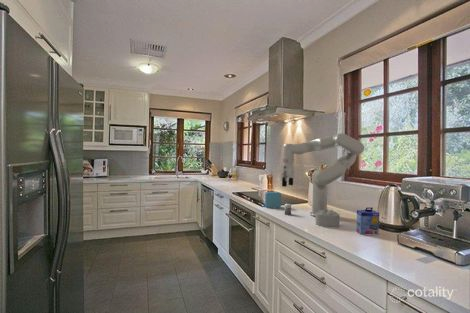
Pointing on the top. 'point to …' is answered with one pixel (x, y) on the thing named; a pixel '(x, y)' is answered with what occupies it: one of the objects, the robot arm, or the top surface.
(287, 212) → the connector casing
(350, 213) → the top surface
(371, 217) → the ink cartridge box
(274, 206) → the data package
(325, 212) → the lumpy-topped squat cylinder
